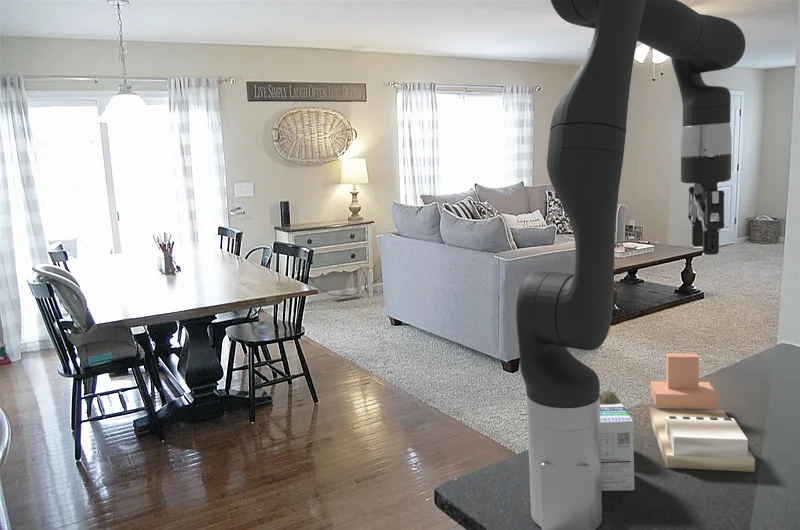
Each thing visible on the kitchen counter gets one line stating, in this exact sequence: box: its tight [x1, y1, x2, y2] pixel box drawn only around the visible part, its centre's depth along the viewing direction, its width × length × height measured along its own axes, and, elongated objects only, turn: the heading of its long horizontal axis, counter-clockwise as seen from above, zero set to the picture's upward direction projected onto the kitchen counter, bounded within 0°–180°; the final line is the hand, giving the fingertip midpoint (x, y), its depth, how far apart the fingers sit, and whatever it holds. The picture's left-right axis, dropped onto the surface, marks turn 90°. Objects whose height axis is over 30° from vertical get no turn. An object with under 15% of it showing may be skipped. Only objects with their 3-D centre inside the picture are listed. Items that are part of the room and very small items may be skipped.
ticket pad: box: [649, 407, 756, 473], centre depth 101 cm, size 18×12×5 cm, turn 166°
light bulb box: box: [600, 403, 635, 492], centre depth 91 cm, size 11×7×11 cm, turn 84°
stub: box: [650, 352, 719, 410], centre depth 111 cm, size 6×10×8 cm, turn 76°
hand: (704, 250), depth 105 cm, fingers open, 8 cm apart
